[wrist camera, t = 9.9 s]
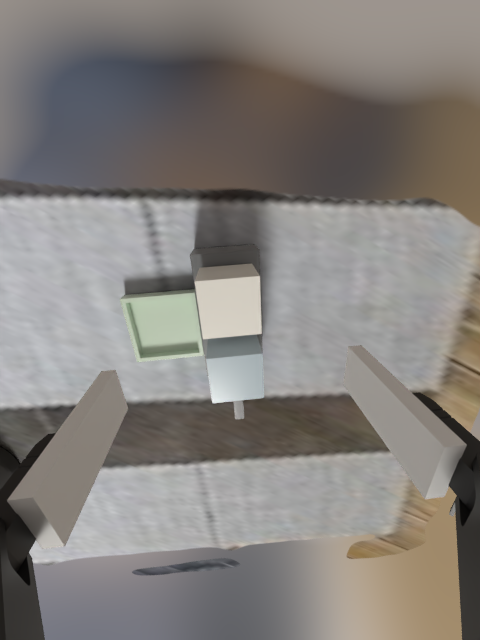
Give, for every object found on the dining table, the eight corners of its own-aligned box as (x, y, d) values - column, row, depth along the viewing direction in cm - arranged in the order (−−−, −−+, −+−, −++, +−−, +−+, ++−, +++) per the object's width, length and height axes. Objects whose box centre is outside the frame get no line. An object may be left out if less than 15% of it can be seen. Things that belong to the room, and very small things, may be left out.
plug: (202, 259, 33) (194, 281, 23) (247, 256, 33) (259, 276, 23) (207, 302, 35) (202, 339, 25) (249, 298, 35) (261, 333, 25)
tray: (140, 355, 39) (137, 362, 37) (124, 295, 35) (119, 299, 33) (204, 349, 39) (204, 355, 38) (195, 288, 35) (194, 292, 33)
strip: (211, 377, 41) (209, 437, 30) (194, 248, 33) (181, 267, 22) (259, 372, 42) (273, 430, 31) (253, 244, 33) (270, 260, 22)
